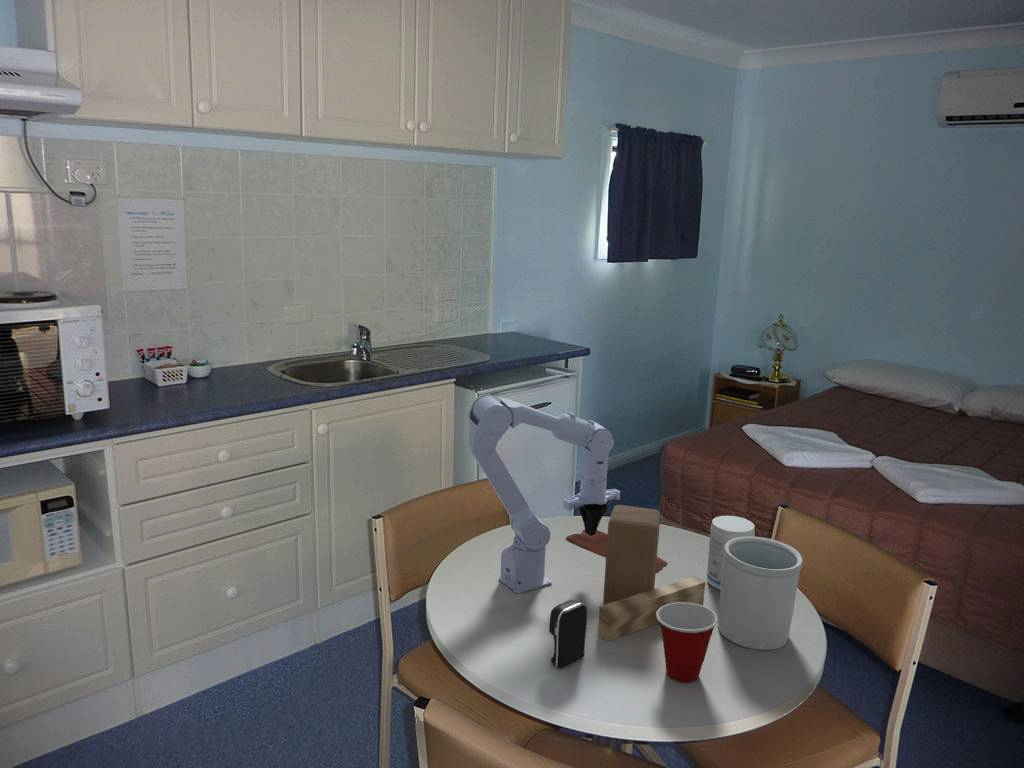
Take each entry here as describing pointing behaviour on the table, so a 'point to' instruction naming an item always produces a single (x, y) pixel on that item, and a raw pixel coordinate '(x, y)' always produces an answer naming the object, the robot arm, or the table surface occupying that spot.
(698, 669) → the plastic cup
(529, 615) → the table surface
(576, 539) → the wooden tablet
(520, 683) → the table surface
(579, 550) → the table surface
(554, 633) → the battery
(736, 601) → the utensil holder
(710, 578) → the supplement tub
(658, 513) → the block
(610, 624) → the board
